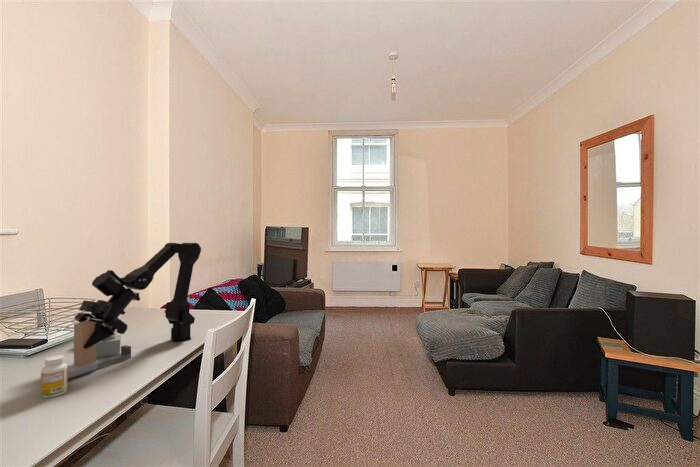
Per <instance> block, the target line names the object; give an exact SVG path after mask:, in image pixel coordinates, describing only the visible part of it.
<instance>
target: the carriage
mask: <svg viewBox="0 0 700 467" xmlns="http://www.w3.org/2000/svg"><path fill="white" fill-rule="evenodd" d="M95 324H96V322H93V321H85V322H76V323H73V363H71V364H69V365H68V364H67V366H68V378H71V377H74V376H77V375H80V374H83V373H86V372H88V371H91V370H94V369H97V366H98V362H96V361H97V357H96V344H94V345H93V346H91V347H89V348H87V349H85V348H83V347H84V345H85V343H86V342H87V341H88V339H89V338H90V336H91V335H92V334H93V332H94V331H95ZM97 370H98V369H97ZM94 371H95V370H94ZM86 374H87V373H86ZM83 375H84V374H83ZM80 376H81V375H80ZM77 377H78V376H77ZM74 378H75V377H74ZM71 379H72V378H71Z"/></svg>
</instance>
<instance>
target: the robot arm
mask: <svg viewBox="0 0 700 467" xmlns="http://www.w3.org/2000/svg"><path fill="white" fill-rule="evenodd" d="M201 252H202V247H201V246H200V244H199V243H197V242H181V243H178V242H167V243H165V245H164V246H163V247H162V248H161V249H160V250H158V252H157V253H155V255H153V256H152V257H151V258H150V259H149V260H148V261H147V262H145V264H143V265H142V266H140V267H137V268H136V269H133V270H132V271H131V272H129V273H127V274H125V276H123V277H119V275H117V274H116V273H115V271H113V270H110V269H108V270H107V271H106V272H103V273H100V274H99V275H98V276H96V277H95V278H94V279H93V280H92V282H91V285H92V286H93V288H96V290H97V291H99V292H100V293H102V295H104V296H105V297H110V298H109V299H108V300H107V301H106V300H103V299H98V300H97V301H91V300H82V303H81V305H80V308H79V311H81V312H78V313H77V314H76V315H75V316H74V318H73V319H74V320H75V321H77V323H80V322H85V321H93V322H96V324H95V331H94V332H93V334H92V335H91V336H90V338H89V339H88V341H87V342H86V343H85V345H84V347H83V348H85V349H87V348H89V347H91V346H93V345H94V344H96V343H98V342H100V341H101V340H103V339H105V338H107V337H109V336H111V335H114V334H115V333H114V331H115V330H117V333H119V335H124V334H125V333H126V332H127V331H128V324H127V323H125V322H124V321H123V320H121V318H120V319H119V318H118V317H119V315H120V314H121V315H125V314H126V311H125V310H126V308H127V307H128V306H129V305H130V303H131V302H132V301H137V302H138V301H140V300H141V297H140V292H135V291H133V290H136V291H141V290H143V291H144V290H145V289H147V288H148V287H149V285H150V284H151V283H152V281H153V279H154V276H155V274H156V273H157V272H158V271H159V270H160V269H161V268H162V267H164V266H165V264H166V263H167V262H168V261H170V260H171V259H172V258H173V257H174V256H175V255H176V254H177V257H178V259H179V263H180V265H179V269H178V275H177V278H176V284H175V290H174V294H173V297H172V299H171V301H170V302H168V301H167V302H166V304H165V310H164V313H165V315H164V316H165V318H166V320H167V321H168V324H170V325H172V327H171V328H170V340H172V342H173V343H174V342H181V341H182V342H183V341H189V340H192V337H191V325H192V324H194V323H195V319H196V318H195V317H194V316H193V314H191V313H190V304H189V301H188V297H189V296H188V295H189V292H190V285H191V280H192V275H193V270H194V265H195V263H196V262H197V261H198V260H199V258H200V255H201ZM83 311H84V312H83Z"/></svg>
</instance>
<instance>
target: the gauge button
mask: <svg viewBox="0 0 700 467" xmlns="http://www.w3.org/2000/svg"><path fill="white" fill-rule="evenodd" d="M114 332H116V330H115V331H114ZM106 340H113V335H111V336H109V337H107V338H105V339H104V341H106Z"/></svg>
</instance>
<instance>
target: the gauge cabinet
mask: <svg viewBox="0 0 700 467" xmlns="http://www.w3.org/2000/svg"><path fill="white" fill-rule="evenodd" d="M121 343H122V334H119V335H115V336H113V340H106V341H104V339H103V340H101V341H100V342H98V343H96V358H102V357H107V356H108V357H110V356H114V355H117V354H120V353H121V346H122V345H121Z"/></svg>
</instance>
